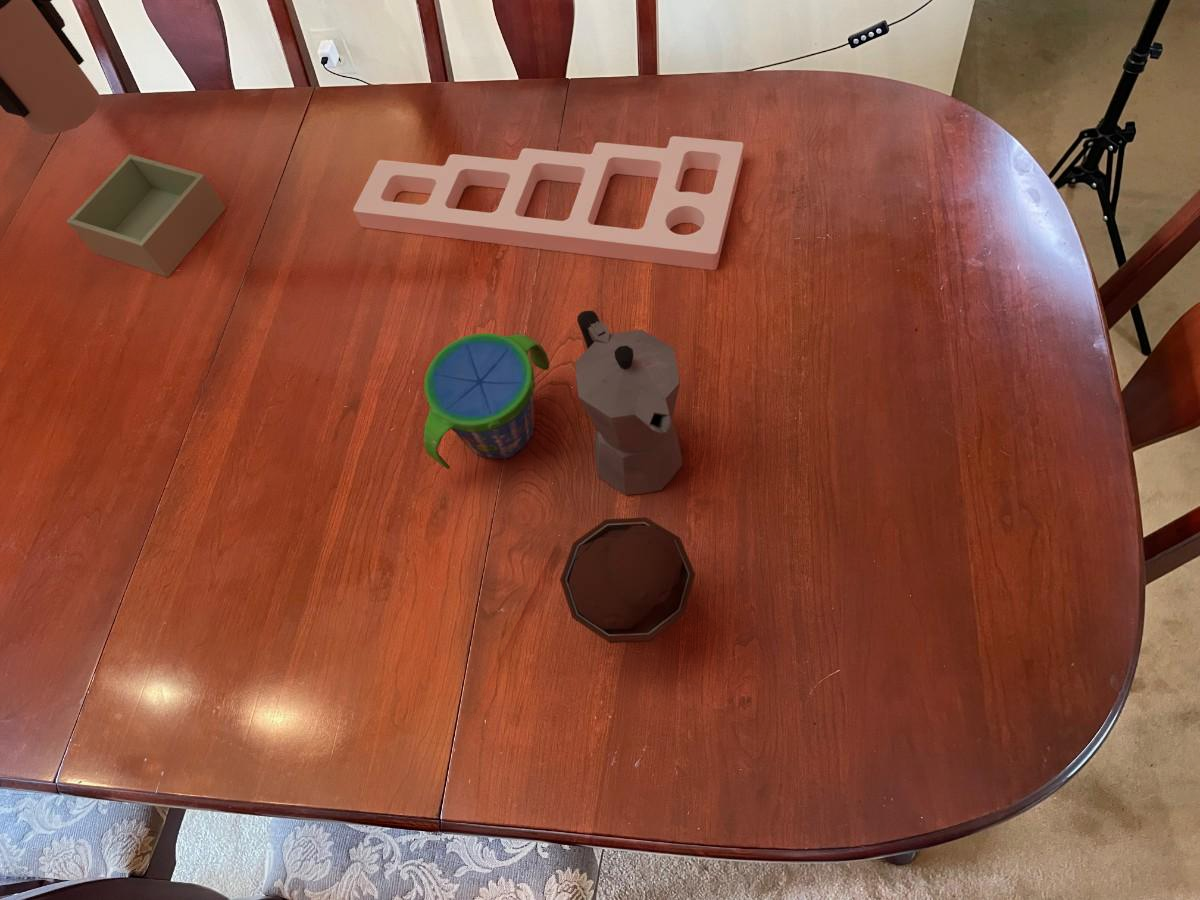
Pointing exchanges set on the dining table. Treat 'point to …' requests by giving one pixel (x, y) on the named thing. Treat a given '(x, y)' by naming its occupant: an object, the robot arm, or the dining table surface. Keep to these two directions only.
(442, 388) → the snack cup
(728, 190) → the holder
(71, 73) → the travel mug
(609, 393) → the coffeepot
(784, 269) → the dining table surface
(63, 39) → the robot arm
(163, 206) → the bin
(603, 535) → the plant pot with soil
